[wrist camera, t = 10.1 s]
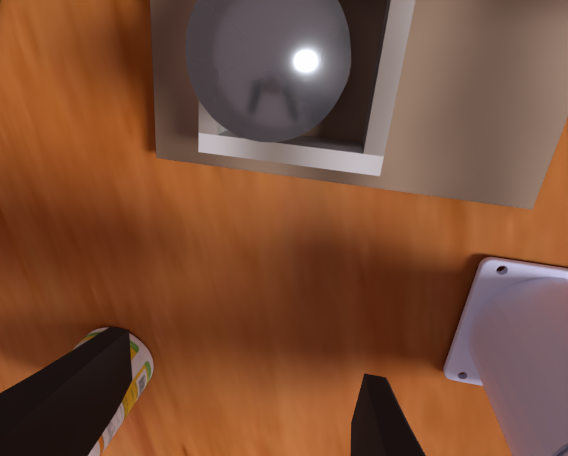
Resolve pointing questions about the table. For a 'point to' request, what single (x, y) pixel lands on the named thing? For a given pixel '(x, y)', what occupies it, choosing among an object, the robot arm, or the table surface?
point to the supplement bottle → (140, 376)
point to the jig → (402, 101)
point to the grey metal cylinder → (268, 63)
